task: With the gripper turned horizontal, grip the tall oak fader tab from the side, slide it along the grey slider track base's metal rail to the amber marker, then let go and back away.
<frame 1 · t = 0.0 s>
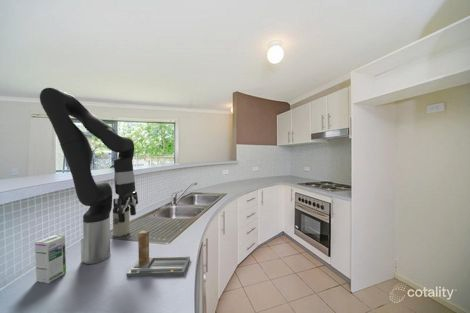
hand: (127, 218, 78), 17 cm above the worktop, tool pointing down, fingers open, 8 cm apart
syrup box: (51, 277, 66), on the worktop
fader tab: (143, 247, 71), point 8 cm above the worktop, slide at -6.5 cm
grey slider track base: (160, 268, 71), on the worktop
labelled jar: (121, 234, 102), on the worktop
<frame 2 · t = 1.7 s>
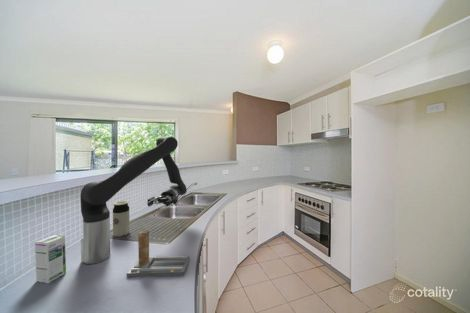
hand: (157, 204, 85), 22 cm above the worktop, tool horizontal, fingers open, 8 cm apart
nothing on the worktop moved.
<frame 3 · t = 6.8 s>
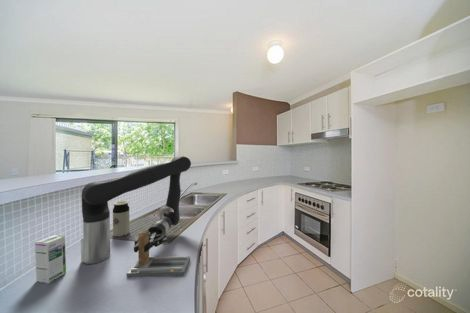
hand: (140, 249, 68), 9 cm above the worktop, tool horizontal, fingers closed on fader tab, 3 cm apart
fader tab: (143, 247, 71), point 8 cm above the worktop, slide at -6.5 cm, touching gripper
everything else where it was.
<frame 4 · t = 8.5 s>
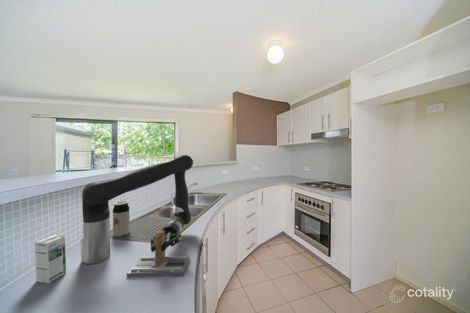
hand: (157, 249, 68), 9 cm above the worktop, tool horizontal, fingers closed on fader tab, 3 cm apart
fader tab: (160, 247, 71), point 8 cm above the worktop, slide at -0.1 cm, touching gripper
everything else where it was.
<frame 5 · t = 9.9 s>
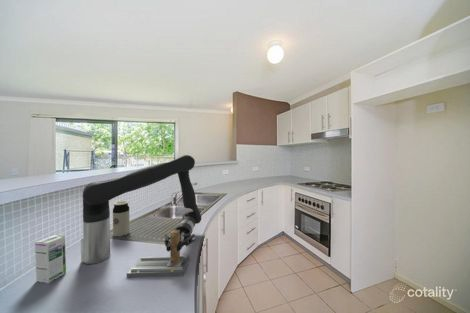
hand: (173, 249, 68), 9 cm above the worktop, tool horizontal, fingers closed on fader tab, 3 cm apart
fader tab: (175, 247, 71), point 8 cm above the worktop, slide at 5.9 cm, touching gripper
everything else where it was.
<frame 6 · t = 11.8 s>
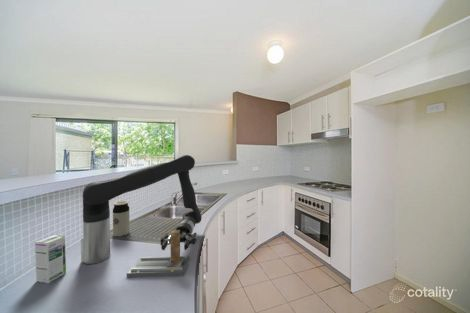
hand: (174, 247, 69), 9 cm above the worktop, tool horizontal, fingers open, 8 cm apart
fader tab: (175, 247, 71), point 8 cm above the worktop, slide at 5.9 cm
everything else where it was.
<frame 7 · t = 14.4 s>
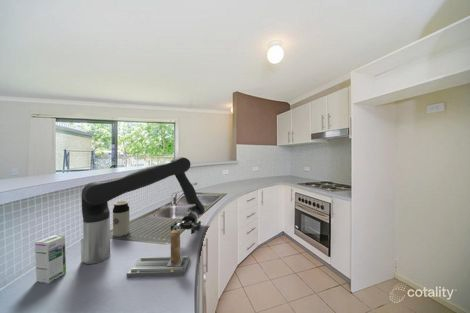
hand: (182, 232, 82), 9 cm above the worktop, tool horizontal, fingers open, 8 cm apart
nothing on the worktop moved.
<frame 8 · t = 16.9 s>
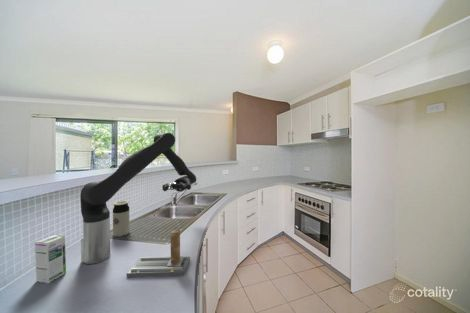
hand: (173, 189, 89), 28 cm above the worktop, tool horizontal, fingers open, 8 cm apart
nothing on the worktop moved.
at the end: fader tab slide at 5.9 cm; the gripper is holding nothing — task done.
